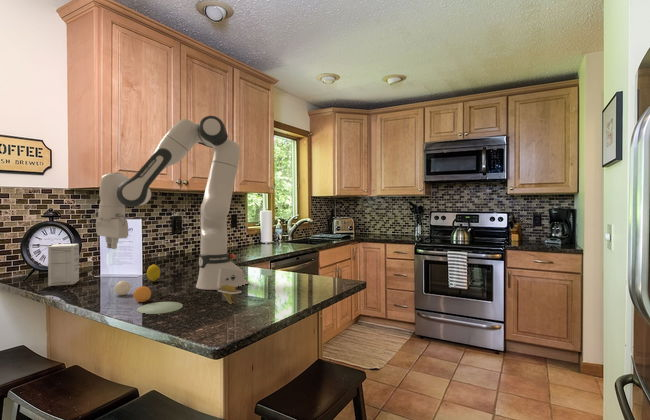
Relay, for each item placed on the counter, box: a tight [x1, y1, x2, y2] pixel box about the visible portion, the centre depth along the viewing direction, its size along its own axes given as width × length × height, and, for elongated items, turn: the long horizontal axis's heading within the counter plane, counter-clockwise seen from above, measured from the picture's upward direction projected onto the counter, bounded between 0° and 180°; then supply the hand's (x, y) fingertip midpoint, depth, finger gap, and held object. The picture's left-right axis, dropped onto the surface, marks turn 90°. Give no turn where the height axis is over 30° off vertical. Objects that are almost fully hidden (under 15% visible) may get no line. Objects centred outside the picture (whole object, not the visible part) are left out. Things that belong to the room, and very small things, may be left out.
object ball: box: [133, 285, 152, 303], centre depth 126 cm, size 6×6×6 cm
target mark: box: [136, 301, 184, 315], centre depth 119 cm, size 14×14×1 cm
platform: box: [217, 285, 242, 305], centre depth 127 cm, size 12×18×7 cm, turn 59°
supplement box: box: [47, 243, 80, 287], centre depth 154 cm, size 10×9×17 cm
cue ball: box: [113, 280, 132, 296], centre depth 135 cm, size 6×6×6 cm
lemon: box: [146, 263, 161, 283], centre depth 160 cm, size 6×6×8 cm
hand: (111, 248), depth 140 cm, fingers closed
